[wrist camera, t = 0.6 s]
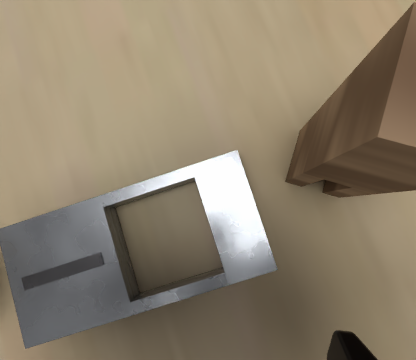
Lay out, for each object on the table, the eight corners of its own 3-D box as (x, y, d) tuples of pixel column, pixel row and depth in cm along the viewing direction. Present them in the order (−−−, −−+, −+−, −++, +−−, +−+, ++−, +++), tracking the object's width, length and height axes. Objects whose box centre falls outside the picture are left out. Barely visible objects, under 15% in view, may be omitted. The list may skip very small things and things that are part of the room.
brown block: (339, 197, 20) (532, 178, 7) (285, 181, 20) (377, 136, 8) (353, 145, 20) (566, 36, 7) (300, 130, 21) (414, 2, 8)
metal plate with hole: (273, 263, 20) (278, 270, 18) (45, 335, 21) (23, 349, 19) (236, 155, 21) (237, 149, 19) (18, 227, 22) (-5, 229, 19)
